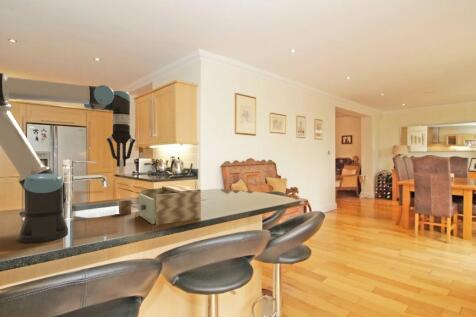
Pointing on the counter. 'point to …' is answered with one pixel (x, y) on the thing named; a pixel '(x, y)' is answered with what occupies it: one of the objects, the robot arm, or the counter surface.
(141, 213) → the tray
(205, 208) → the counter surface
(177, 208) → the case
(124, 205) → the pedestal
